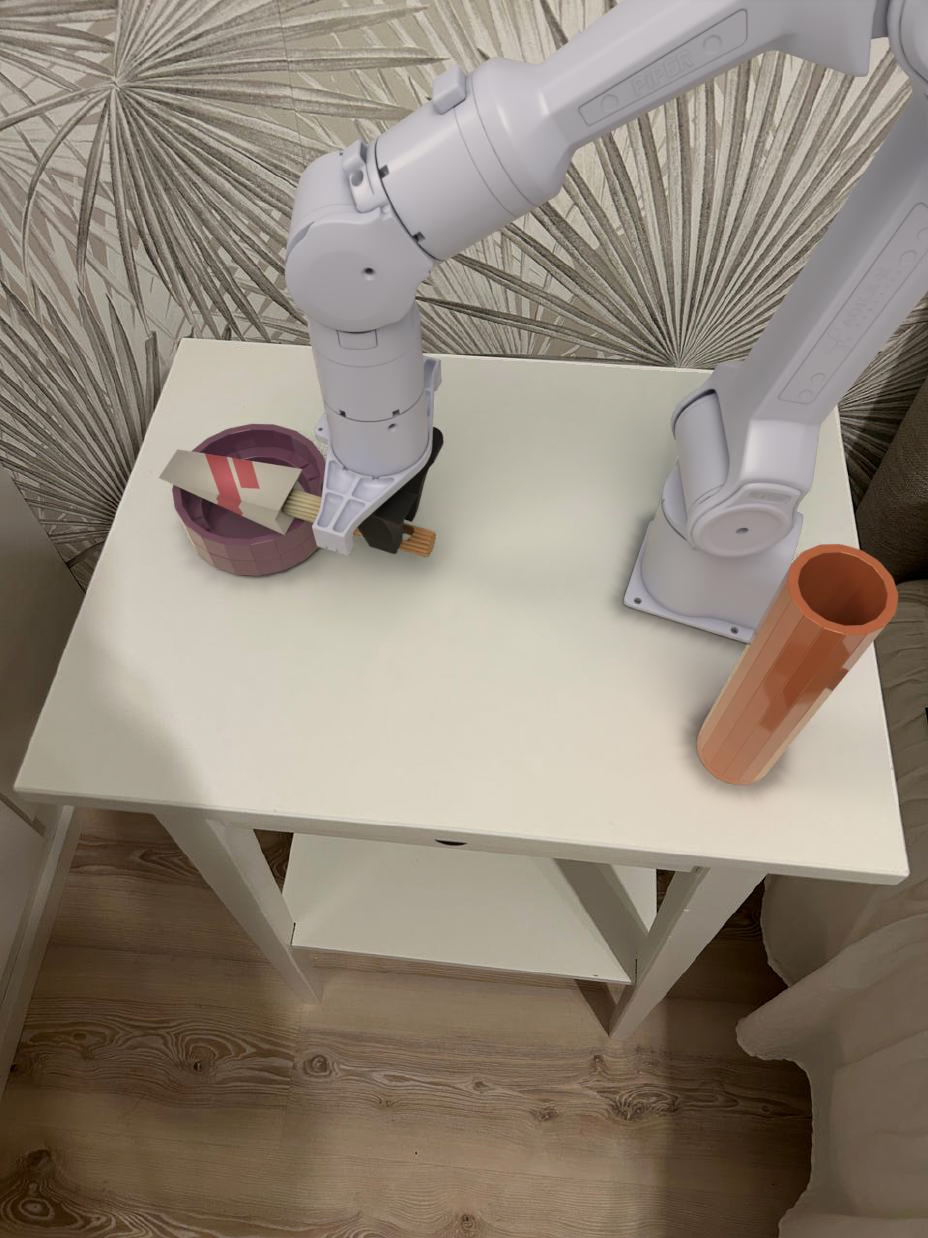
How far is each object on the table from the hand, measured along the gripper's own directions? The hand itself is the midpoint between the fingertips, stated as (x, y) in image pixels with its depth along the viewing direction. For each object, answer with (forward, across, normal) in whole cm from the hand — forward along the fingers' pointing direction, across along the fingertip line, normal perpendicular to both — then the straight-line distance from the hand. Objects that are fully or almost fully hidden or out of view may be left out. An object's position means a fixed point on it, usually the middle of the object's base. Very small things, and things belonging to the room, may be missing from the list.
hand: (392, 529), depth 61 cm
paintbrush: (+2, 0, -7) cm, 7 cm away
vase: (+6, +4, +26) cm, 27 cm away
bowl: (+6, -1, -12) cm, 14 cm away
